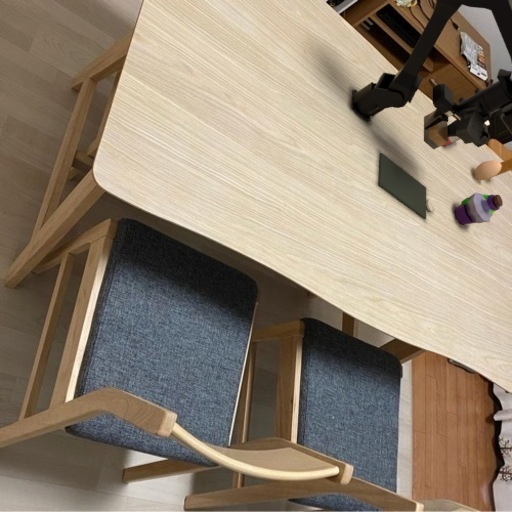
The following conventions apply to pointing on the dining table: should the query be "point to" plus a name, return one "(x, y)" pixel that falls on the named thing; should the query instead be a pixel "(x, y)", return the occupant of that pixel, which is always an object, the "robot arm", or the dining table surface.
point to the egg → (487, 170)
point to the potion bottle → (477, 208)
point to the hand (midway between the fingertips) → (429, 132)
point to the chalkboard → (402, 186)
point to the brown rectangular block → (435, 133)
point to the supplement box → (505, 166)
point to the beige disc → (429, 205)
